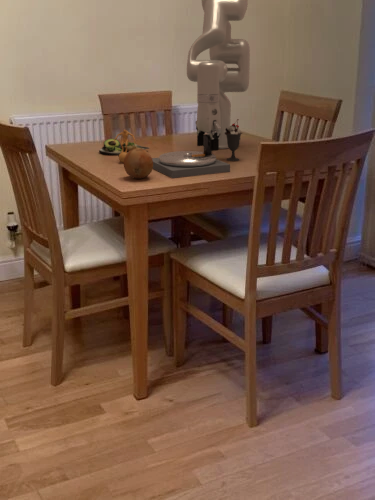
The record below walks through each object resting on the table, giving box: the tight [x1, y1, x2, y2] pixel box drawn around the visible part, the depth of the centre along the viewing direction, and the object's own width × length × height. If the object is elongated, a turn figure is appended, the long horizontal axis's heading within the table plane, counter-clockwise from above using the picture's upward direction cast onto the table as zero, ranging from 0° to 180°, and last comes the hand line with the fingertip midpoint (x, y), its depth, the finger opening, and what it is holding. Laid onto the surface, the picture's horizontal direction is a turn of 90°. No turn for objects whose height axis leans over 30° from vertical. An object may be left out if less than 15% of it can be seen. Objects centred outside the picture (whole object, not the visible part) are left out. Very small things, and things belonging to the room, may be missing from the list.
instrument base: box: [152, 157, 231, 179], centre depth 227 cm, size 22×22×3 cm
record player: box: [158, 133, 217, 167], centre depth 225 cm, size 20×20×8 cm
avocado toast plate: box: [98, 138, 150, 156], centre depth 256 cm, size 19×18×5 cm
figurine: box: [114, 129, 137, 164], centre depth 235 cm, size 8×6×12 cm
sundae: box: [225, 118, 243, 162], centre depth 239 cm, size 7×7×15 cm
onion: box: [123, 148, 154, 180], centre depth 212 cm, size 10×10×10 cm
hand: (207, 148), depth 228 cm, fingers open, 9 cm apart
